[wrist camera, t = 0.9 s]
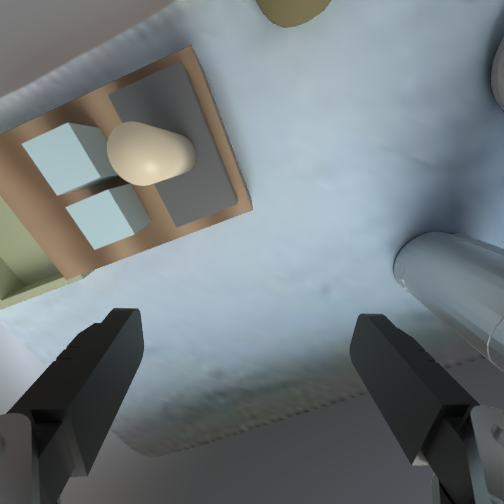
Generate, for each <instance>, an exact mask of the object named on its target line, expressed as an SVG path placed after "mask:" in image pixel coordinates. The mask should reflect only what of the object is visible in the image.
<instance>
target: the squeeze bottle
mask: <svg viewBox="0 0 504 504" xmlns="http://www.w3.org/2000/svg"><path fill="white" fill-rule="evenodd" d="M330 1H331V0H256V2H257V3H258V5H259V7H260V8H261V10H262V11H263V13H264V14H265V15H266V16H267V17H268V18H269V20H270V21H271V22H272V23H274V24H276V25H279V26H281V27H284V28H285V27H292V26H297V25H300V24H303V23H305V22H308V21H309V20H311V19H312V18H314V17H315V16H317V15H318V14H320V13H321V12H322V11H324V10H325V9H326V7H327V6H328V4H329V3H330Z"/></svg>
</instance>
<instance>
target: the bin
mask: <svg viewBox="0 0 504 504" xmlns="http://www.w3.org/2000/svg"><path fill="white" fill-rule="evenodd" d="M94 270H95V269H94ZM94 270H92V271H94ZM92 271H89V272H86V273H84V274H81V275H78V276H76V277H73V278H70V279H68V280H66V279H65V278H64V276H63V275H62V274H61V272H60V271H59V270H58V269H57V267H56V266H55V265H54V264H53V262H52V261H51V260H50V258H49V257H48V256H47V255H46V253H45V252H44V251H43V249H42V248H41V247H40V246H39V244H38V243H37V242H36V241H35V239H34V238H33V237H32V235H31V234H30V233H29V232H28V230H27V229H26V228H25V226H24V225H23V224H22V223H21V221H20V220H19V219H18V218H17V216H16V215H15V214H14V212H13V211H12V210H11V209H10V207H9V206H8V205H7V203H6V202H5V201H4V200H3V198H2V197H1V196H0V309H3V308H6V307H9V306H11V305H14V304H17V303H19V302H22V301H25V300H27V299H30V298H33V297H35V296H38V295H41V294H43V293H46V292H49V291H51V290H54V289H57V288H60V287H62V286H65V285H68V284H70V283H73V282H76V281H78V280H81V279H83V278H85V277H86V276H87V275H89V274H90V273H91V272H92Z"/></svg>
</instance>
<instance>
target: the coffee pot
mask: <svg viewBox="0 0 504 504" xmlns="http://www.w3.org/2000/svg"><path fill="white" fill-rule="evenodd" d="M491 87H492V91H493V94H494V97H495V100H496V102H497V104H498V105H499V106H500V107H501V108H502V110H503V111H504V37H503V38H502V40H501V43H500V45H499V48H498V50H497V53H496V55H495V58H494V61H493V65H492V70H491Z"/></svg>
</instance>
